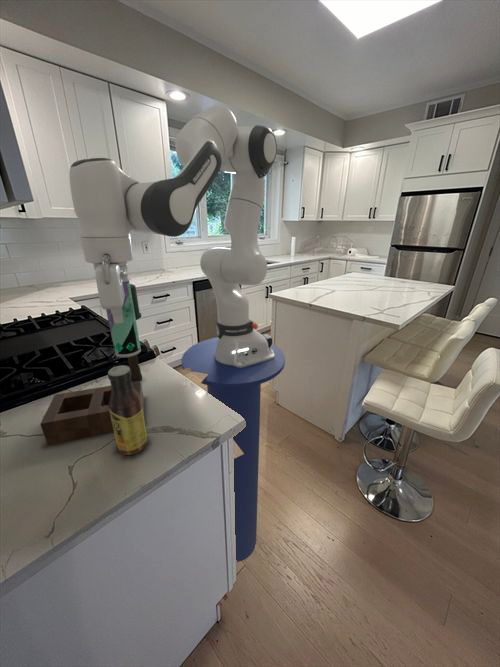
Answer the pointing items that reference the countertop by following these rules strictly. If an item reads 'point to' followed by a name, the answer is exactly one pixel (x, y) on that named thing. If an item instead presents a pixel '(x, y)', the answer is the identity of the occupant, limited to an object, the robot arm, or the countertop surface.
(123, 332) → the spray can
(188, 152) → the robot arm
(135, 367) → the potato masher grenade
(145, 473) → the countertop surface
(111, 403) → the sauce bottle
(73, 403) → the holder
